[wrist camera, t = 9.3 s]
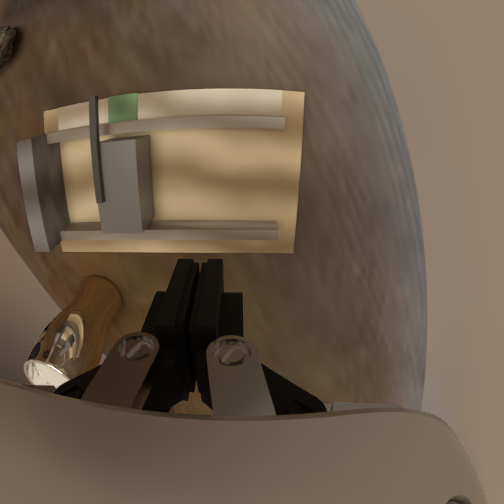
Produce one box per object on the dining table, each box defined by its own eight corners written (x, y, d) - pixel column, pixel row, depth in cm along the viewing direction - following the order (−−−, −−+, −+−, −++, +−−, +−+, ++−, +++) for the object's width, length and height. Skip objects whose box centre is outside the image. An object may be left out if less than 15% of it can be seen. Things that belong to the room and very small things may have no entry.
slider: (154, 216, 28) (140, 235, 24) (117, 217, 28) (99, 236, 24) (149, 92, 23) (131, 90, 19) (109, 97, 23) (86, 97, 19)
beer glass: (68, 285, 33) (12, 366, 20) (102, 263, 32) (42, 351, 19) (101, 324, 36) (60, 410, 23) (136, 306, 35) (98, 402, 22)
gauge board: (290, 246, 32) (302, 278, 26) (68, 245, 31) (41, 273, 25) (301, 92, 25) (318, 87, 19) (51, 109, 24) (14, 114, 18)
